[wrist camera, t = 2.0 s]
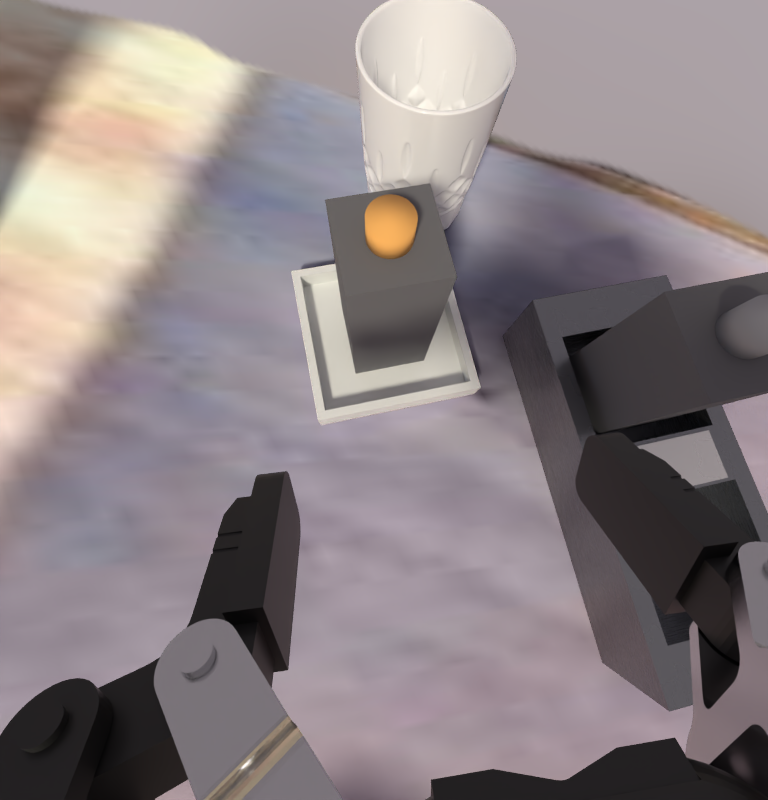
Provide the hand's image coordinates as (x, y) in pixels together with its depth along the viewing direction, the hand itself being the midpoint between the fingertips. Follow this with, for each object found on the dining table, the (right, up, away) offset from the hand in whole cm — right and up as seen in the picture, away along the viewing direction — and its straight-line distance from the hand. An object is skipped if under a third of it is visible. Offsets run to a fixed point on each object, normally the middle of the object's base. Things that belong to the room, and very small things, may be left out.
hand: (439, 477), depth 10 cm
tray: (-2, +6, +15) cm, 17 cm away
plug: (-2, +6, +15) cm, 16 cm away
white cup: (+1, +17, +18) cm, 25 cm away
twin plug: (+12, +2, +14) cm, 18 cm away
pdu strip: (+13, -2, +14) cm, 19 cm away
